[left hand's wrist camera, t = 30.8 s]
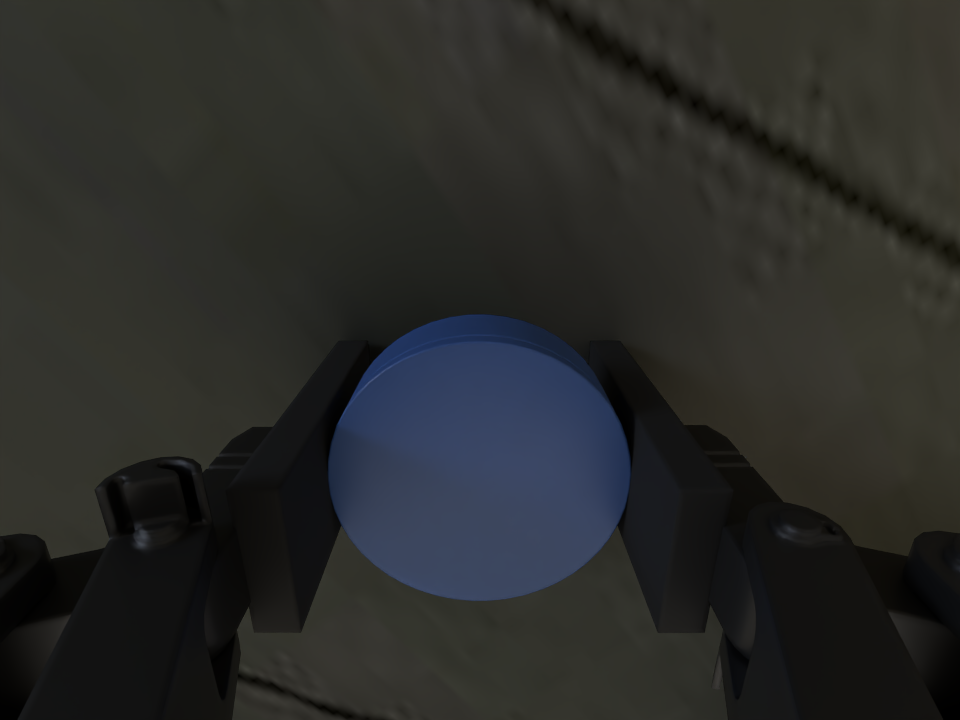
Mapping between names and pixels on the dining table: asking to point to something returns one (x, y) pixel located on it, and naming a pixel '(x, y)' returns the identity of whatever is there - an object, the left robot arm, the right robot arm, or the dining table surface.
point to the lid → (479, 460)
